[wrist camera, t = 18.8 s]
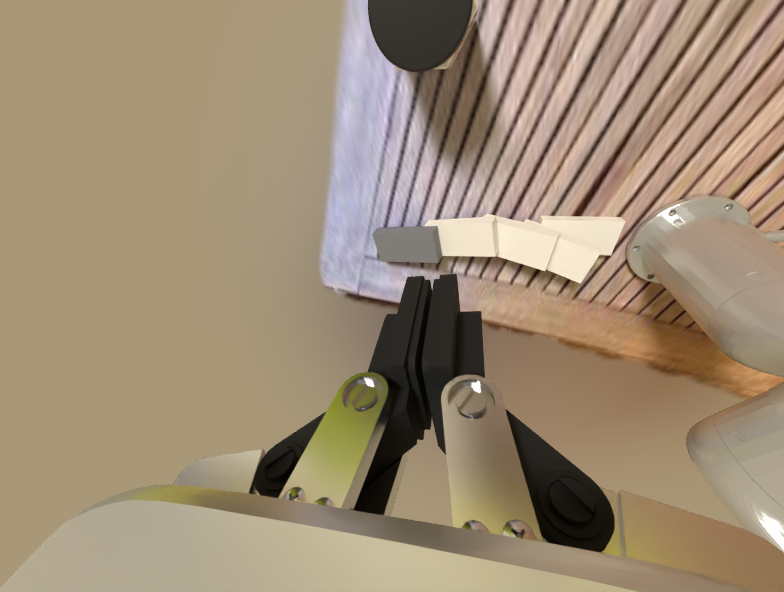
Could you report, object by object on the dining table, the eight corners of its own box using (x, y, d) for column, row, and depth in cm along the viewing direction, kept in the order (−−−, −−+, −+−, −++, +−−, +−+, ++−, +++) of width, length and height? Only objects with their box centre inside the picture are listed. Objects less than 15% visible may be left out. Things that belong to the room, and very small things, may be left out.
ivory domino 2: (486, 213, 43) (561, 231, 38) (481, 244, 46) (549, 264, 42) (480, 218, 42) (557, 237, 37) (475, 249, 45) (545, 271, 40)
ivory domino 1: (428, 220, 46) (496, 216, 40) (435, 249, 48) (499, 249, 43) (423, 226, 44) (491, 223, 39) (430, 255, 47) (495, 256, 42)
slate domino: (380, 261, 50) (438, 263, 45) (372, 233, 47) (432, 232, 42) (386, 255, 51) (442, 256, 46) (378, 227, 48) (437, 225, 43)
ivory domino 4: (539, 214, 43) (619, 215, 41) (532, 245, 46) (605, 248, 44) (542, 220, 41) (625, 221, 39) (534, 252, 44) (610, 255, 42)
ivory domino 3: (526, 218, 42) (603, 246, 38) (514, 248, 46) (583, 276, 42) (521, 224, 41) (600, 253, 37) (509, 254, 44) (580, 283, 40)
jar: (421, -60, 29) (399, -118, 20) (491, -7, 30) (501, -38, 21) (381, 48, 34) (348, 42, 25) (441, 89, 36) (431, 98, 26)
